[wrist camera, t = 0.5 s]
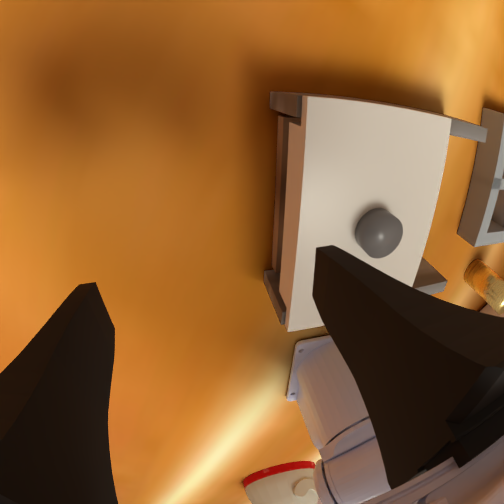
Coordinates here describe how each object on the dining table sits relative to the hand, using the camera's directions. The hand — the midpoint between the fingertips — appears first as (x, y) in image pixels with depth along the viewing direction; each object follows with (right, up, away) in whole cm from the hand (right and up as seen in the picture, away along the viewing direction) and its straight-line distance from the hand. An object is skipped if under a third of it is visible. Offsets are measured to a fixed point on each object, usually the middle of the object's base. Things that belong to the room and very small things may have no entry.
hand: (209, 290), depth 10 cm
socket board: (+24, +8, +12) cm, 28 cm away
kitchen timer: (+6, -40, +37) cm, 55 cm away
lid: (+7, +4, +7) cm, 11 cm away
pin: (+26, -1, +18) cm, 31 cm away
